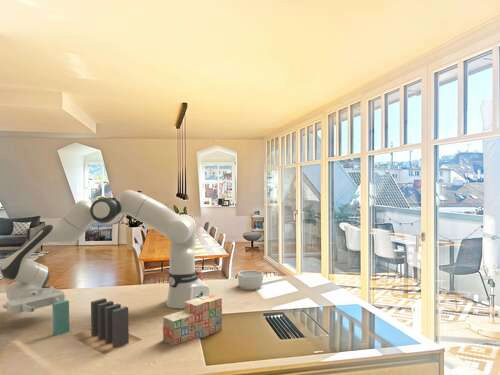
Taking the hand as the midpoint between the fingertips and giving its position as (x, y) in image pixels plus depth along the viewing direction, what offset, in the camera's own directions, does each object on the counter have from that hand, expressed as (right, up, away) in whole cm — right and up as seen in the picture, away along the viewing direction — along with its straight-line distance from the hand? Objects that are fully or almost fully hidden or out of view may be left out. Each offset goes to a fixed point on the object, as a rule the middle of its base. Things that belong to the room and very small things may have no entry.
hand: (45, 306), depth 146 cm
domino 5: (+34, -7, -17) cm, 39 cm away
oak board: (+27, -8, -11) cm, 31 cm away
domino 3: (+27, -7, -12) cm, 30 cm away
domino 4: (+31, -7, -14) cm, 35 cm away
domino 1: (+10, -8, -7) cm, 15 cm away
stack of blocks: (+57, -8, -8) cm, 58 cm away
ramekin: (+77, -6, +52) cm, 93 cm away
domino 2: (+24, -7, -9) cm, 26 cm away
